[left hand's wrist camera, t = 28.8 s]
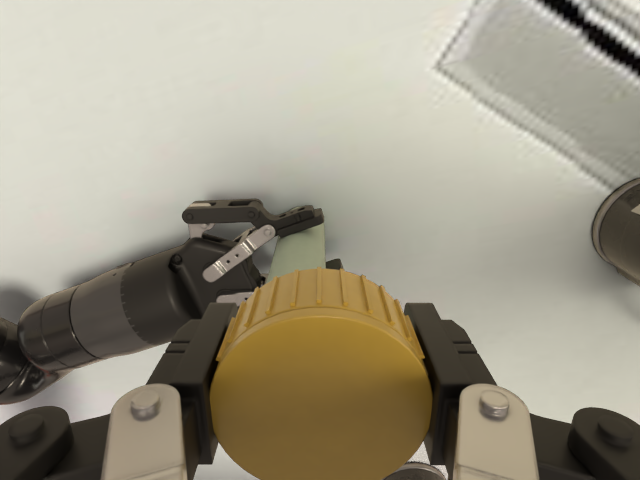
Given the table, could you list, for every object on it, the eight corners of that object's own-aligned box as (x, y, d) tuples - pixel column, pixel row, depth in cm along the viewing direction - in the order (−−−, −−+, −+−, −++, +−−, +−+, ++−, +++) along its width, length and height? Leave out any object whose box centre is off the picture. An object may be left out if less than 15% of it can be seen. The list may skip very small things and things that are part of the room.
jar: (331, 235, 41) (339, 344, 24) (294, 252, 41) (276, 370, 24) (312, 198, 39) (307, 286, 22) (274, 217, 40) (241, 316, 23)
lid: (434, 394, 12) (461, 465, 10) (270, 441, 12) (259, 517, 10) (382, 237, 10) (400, 280, 8) (195, 300, 11) (163, 356, 9)
